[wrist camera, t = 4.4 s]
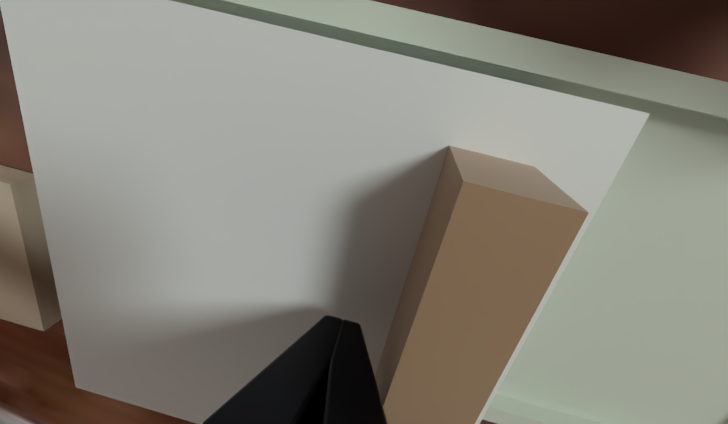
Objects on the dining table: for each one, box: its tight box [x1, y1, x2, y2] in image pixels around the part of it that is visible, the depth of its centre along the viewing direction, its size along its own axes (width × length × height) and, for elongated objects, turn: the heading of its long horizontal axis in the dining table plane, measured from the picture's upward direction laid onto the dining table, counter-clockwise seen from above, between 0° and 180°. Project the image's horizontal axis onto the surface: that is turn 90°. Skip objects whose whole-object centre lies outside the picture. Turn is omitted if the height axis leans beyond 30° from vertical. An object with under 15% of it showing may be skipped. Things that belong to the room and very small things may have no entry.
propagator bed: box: [171, 0, 728, 424], centre depth 13 cm, size 14×29×2 cm, turn 78°
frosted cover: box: [0, 0, 650, 424], centre depth 9 cm, size 12×12×7 cm
